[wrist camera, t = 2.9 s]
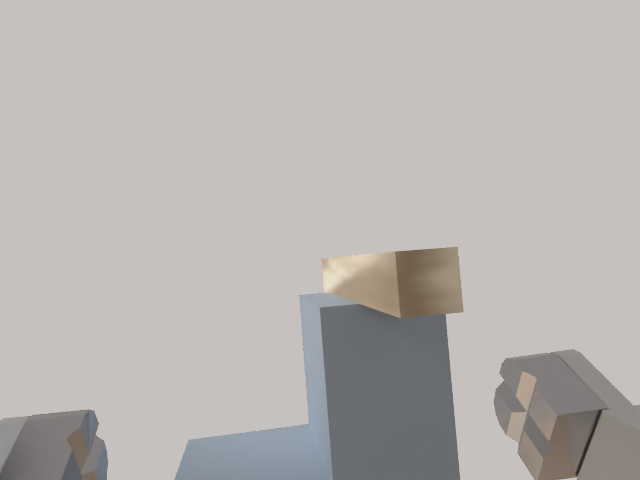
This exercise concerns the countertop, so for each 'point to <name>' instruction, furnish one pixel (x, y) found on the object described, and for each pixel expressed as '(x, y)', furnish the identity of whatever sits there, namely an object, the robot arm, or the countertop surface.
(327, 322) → the stepped stand
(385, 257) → the block
